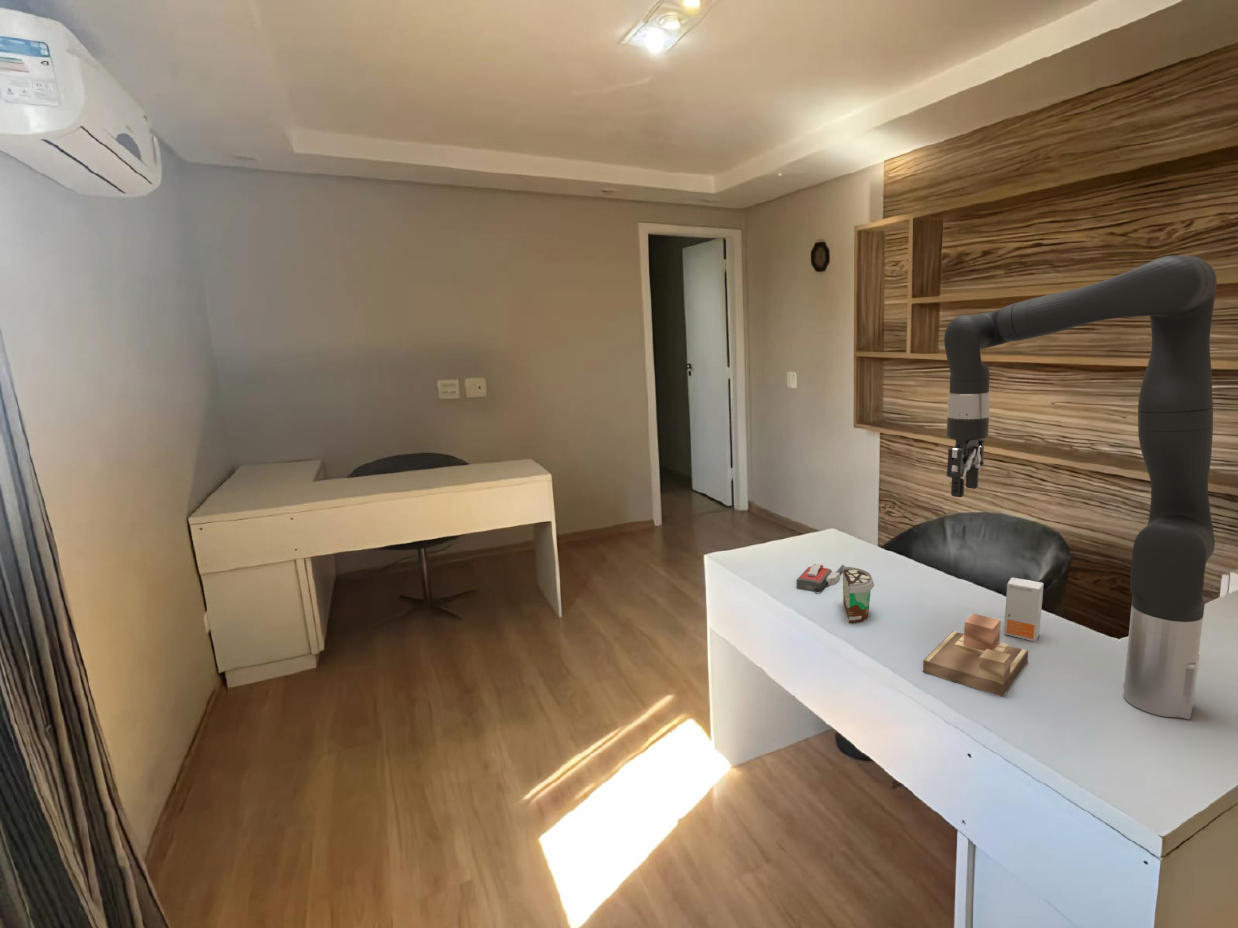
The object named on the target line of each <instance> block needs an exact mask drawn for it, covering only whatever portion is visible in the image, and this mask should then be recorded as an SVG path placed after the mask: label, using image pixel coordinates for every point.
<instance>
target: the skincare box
mask: <svg viewBox="0 0 1238 928" xmlns="http://www.w3.org/2000/svg"><path fill="white" fill-rule="evenodd" d="M1044 586H1045V585H1044V583H1043V582H1041V581H1040V582H1038V581H1033V580H1029V579H1023V578H1017V577H1010V579H1009V580H1008V582H1007V583H1006V595H1005V596H1006V597H1005V599H1006V600H1005V611H1004V625H1003V626H1004V627H1003V634H1004V635H1006V636H1011V637H1015V638H1019V639H1023V640H1027V641H1030V642H1034V643H1035V642H1036V641H1037V639H1038V637H1039V636H1040V633H1041V618H1042V605H1043V596H1044V595H1043V594H1044Z"/></svg>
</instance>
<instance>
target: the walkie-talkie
mask: <svg viewBox="0 0 1238 928" xmlns="http://www.w3.org/2000/svg"><path fill="white" fill-rule="evenodd" d="M843 567H846V566H845V565H844V564H842V565H841V566H840V567H839V568H838V569H837V570H836V571H832V569H830V568H828V567H824V565H823V564H817V563H814V564H813V565H812V566H809V567H808V566H807V568H806V569H805V570H804V571H803V572H802V573H801V575H799V577H798V578H797V579H796V589H797V590H801V591H808V592H813V593H821V592H822V591H823V589H824V588H825V587H830V586H834V585H836V584H837V583H838V581H840V579H841V573H843Z"/></svg>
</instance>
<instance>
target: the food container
mask: <svg viewBox="0 0 1238 928" xmlns="http://www.w3.org/2000/svg"><path fill="white" fill-rule="evenodd" d="M874 586H875V582H874V579H873V576H872V574H871V573H870V572H868V571H866V570H864V569H861V568H858V567H853V566H845V567H843V571H842V588H843V589H842V599H843V600H842V601H843V602H842V603H843V604H842V605H843V607H842V608H843V610H844V613H845V616H846V619H847V622H848V624H857V623H862V622H865V621H866V620H868V618H869V612H870V603H871V591H872V590H873V588H874Z"/></svg>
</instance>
